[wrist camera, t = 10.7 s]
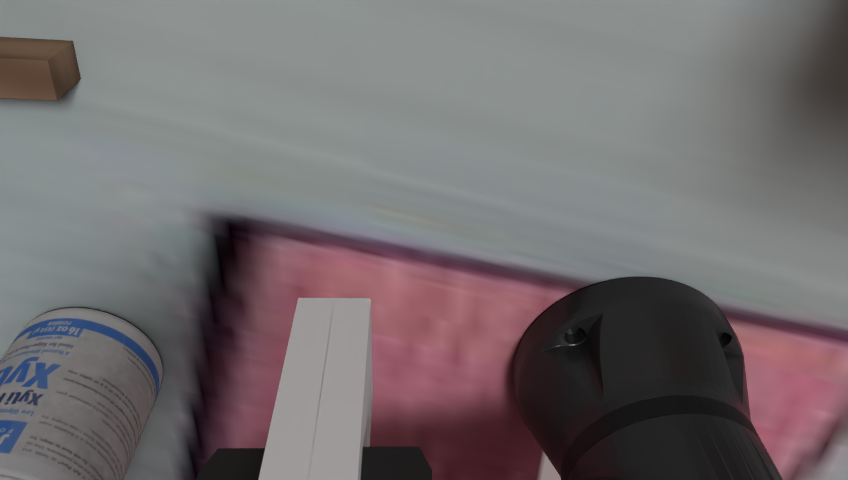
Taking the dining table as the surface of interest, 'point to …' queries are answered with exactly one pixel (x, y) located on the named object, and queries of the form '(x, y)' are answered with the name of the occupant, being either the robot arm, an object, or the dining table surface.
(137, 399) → the supplement tub
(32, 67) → the guide channel
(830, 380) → the dining table surface
